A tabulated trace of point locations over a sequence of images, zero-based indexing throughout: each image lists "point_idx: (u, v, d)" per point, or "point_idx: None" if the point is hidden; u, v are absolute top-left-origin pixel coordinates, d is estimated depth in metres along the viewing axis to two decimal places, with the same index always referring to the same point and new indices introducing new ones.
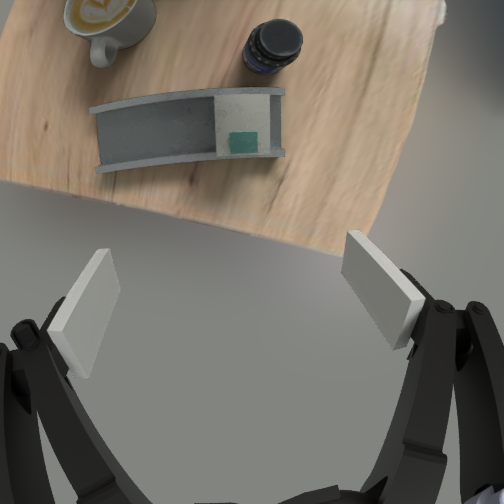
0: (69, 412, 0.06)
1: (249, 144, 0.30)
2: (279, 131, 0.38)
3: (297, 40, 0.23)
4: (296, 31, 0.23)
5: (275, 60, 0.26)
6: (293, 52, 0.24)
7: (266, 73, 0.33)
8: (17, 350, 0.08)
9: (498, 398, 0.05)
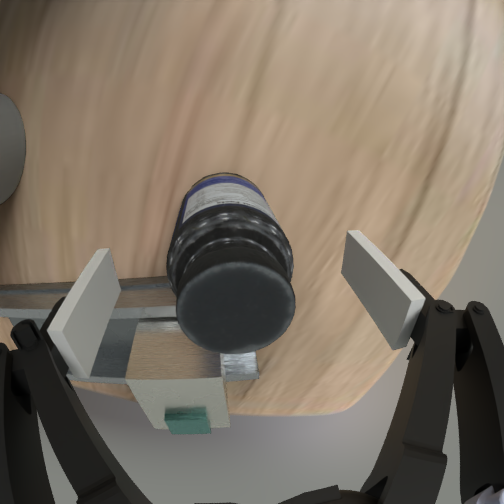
0: (69, 412, 0.06)
1: (197, 428, 0.18)
2: None
3: (279, 316, 0.11)
4: (279, 292, 0.11)
5: None
6: (267, 343, 0.12)
7: None
8: (17, 350, 0.08)
9: (498, 398, 0.05)
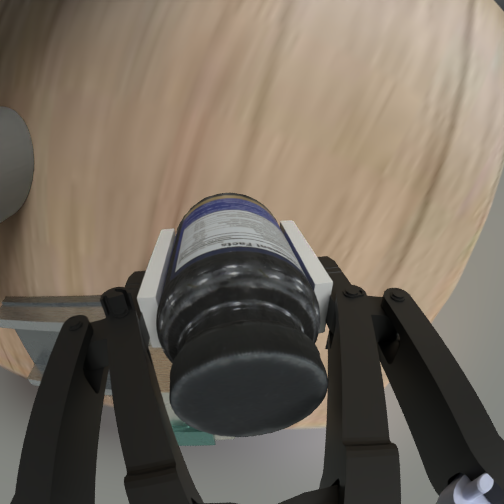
0: (145, 388, 0.07)
1: (201, 440, 0.18)
2: None
3: (306, 401, 0.08)
4: (308, 380, 0.07)
5: None
6: (287, 425, 0.08)
7: None
8: (96, 322, 0.10)
9: (444, 389, 0.06)
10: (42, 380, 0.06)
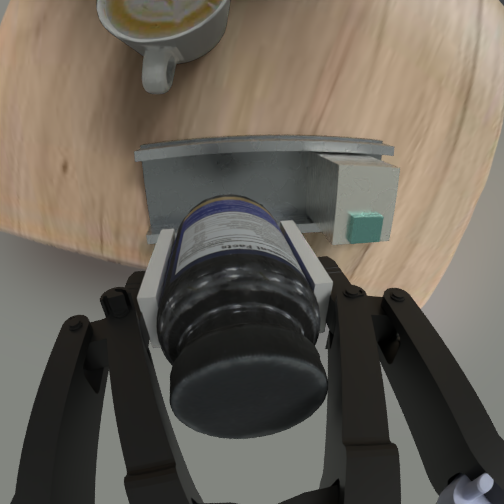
0: (145, 388, 0.07)
1: (372, 232, 0.24)
2: None
3: (306, 403, 0.08)
4: (308, 383, 0.07)
5: None
6: (287, 427, 0.08)
7: None
8: (96, 322, 0.10)
9: (444, 389, 0.06)
10: (42, 380, 0.06)
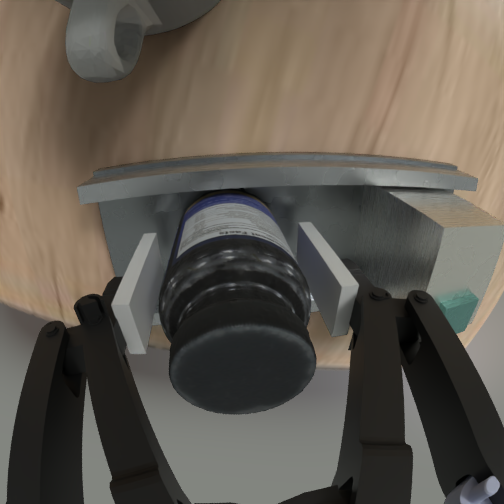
0: (123, 393, 0.07)
1: (461, 321, 0.13)
2: None
3: (296, 378, 0.09)
4: (297, 355, 0.08)
5: None
6: (279, 403, 0.09)
7: None
8: (73, 328, 0.09)
9: (460, 390, 0.06)
10: (23, 386, 0.06)
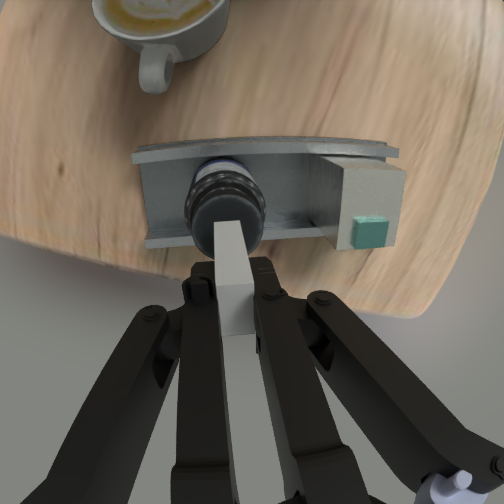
0: (215, 381, 0.07)
1: (378, 237, 0.23)
2: None
3: (254, 231, 0.19)
4: (252, 215, 0.18)
5: None
6: (247, 253, 0.19)
7: None
8: (170, 312, 0.11)
9: (394, 395, 0.06)
10: (104, 368, 0.07)
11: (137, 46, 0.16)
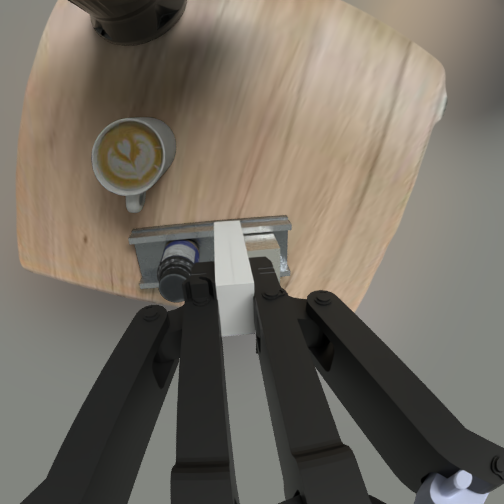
0: (215, 381, 0.07)
1: None
2: (286, 252, 0.50)
3: None
4: None
5: None
6: None
7: None
8: (170, 312, 0.11)
9: (394, 395, 0.06)
10: (104, 368, 0.07)
11: None
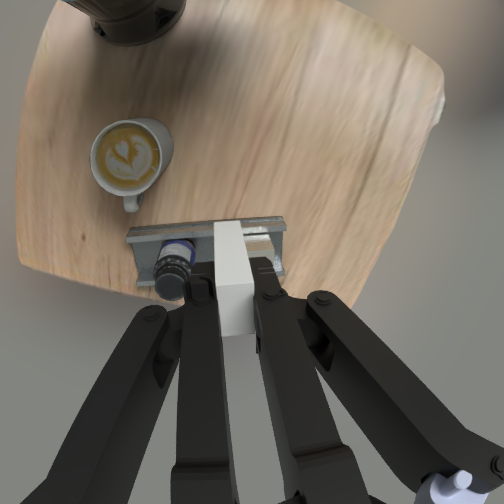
0: (215, 381, 0.07)
1: None
2: (281, 252, 0.51)
3: None
4: (181, 281, 0.38)
5: None
6: (181, 297, 0.40)
7: None
8: (170, 312, 0.11)
9: (394, 395, 0.06)
10: (104, 368, 0.07)
11: None
